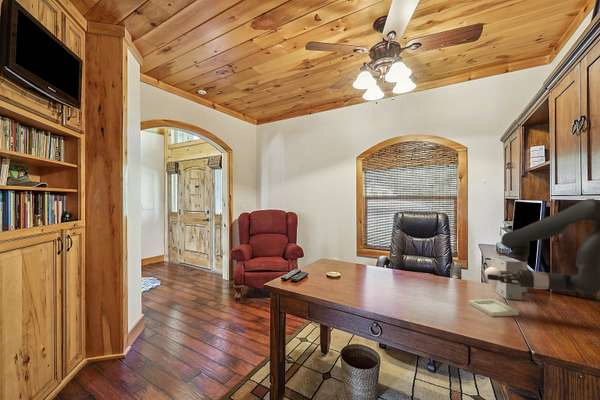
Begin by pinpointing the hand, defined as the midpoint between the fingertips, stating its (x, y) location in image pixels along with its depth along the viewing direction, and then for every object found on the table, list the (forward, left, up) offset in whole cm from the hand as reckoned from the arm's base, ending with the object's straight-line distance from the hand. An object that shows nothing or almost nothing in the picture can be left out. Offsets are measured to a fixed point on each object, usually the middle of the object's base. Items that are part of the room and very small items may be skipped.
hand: (486, 275), depth 121 cm
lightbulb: (+1, +2, -7) cm, 8 cm away
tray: (+1, +2, -16) cm, 16 cm away
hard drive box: (-15, +25, -16) cm, 33 cm away
